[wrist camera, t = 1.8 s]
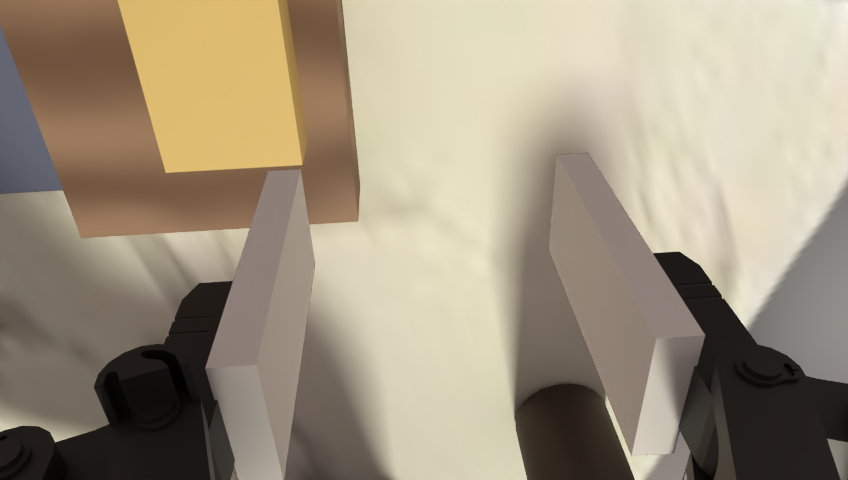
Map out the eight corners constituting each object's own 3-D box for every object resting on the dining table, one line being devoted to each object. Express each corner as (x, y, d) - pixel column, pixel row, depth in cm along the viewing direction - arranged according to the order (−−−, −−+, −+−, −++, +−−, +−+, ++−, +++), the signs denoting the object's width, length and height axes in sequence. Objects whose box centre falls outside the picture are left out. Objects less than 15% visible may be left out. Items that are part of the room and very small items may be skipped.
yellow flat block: (307, 142, 31) (302, 165, 29) (179, 149, 30) (165, 172, 28) (277, -66, 26) (269, -56, 24) (125, -59, 26) (104, -49, 24)
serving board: (360, 184, 36) (358, 221, 33) (109, 199, 36) (81, 238, 33) (321, -201, 27) (313, -204, 23) (-23, -187, 26) (-82, -189, 23)
